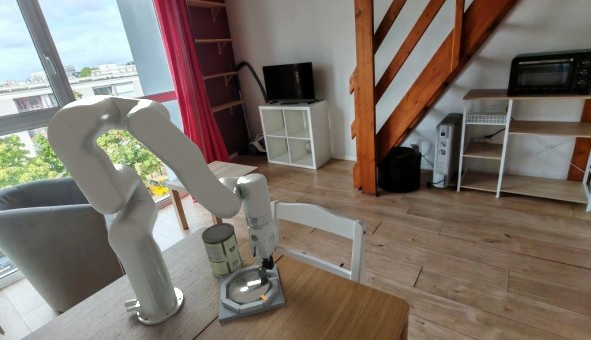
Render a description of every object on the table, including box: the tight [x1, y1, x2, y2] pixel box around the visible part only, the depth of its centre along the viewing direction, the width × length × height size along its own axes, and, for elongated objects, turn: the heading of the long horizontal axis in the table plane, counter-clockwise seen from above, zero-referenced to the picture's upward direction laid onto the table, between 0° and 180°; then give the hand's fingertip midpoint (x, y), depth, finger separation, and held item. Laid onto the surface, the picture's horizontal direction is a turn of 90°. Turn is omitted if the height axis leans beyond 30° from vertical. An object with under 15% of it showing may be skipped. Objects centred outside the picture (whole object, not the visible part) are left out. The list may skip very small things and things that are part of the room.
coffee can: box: [201, 222, 243, 278], centre depth 97 cm, size 10×10×14 cm
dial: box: [229, 265, 270, 305], centre depth 86 cm, size 12×12×6 cm
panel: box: [218, 263, 286, 324], centre depth 87 cm, size 18×17×3 cm
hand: (268, 267), depth 91 cm, fingers closed
